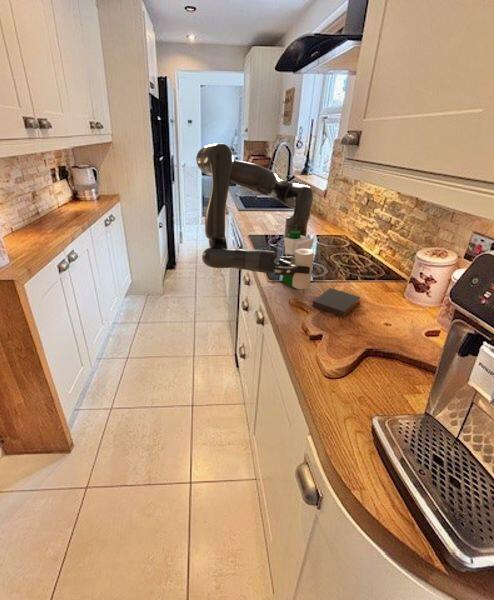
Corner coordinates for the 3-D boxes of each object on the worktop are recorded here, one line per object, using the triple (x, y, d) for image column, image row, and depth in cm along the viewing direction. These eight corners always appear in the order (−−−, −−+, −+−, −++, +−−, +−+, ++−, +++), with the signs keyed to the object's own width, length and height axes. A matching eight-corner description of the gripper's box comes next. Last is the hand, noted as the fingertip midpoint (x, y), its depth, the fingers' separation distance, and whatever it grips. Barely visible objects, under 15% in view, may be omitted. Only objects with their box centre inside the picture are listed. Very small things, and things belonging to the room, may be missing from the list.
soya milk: (293, 276, 132) (298, 228, 123) (311, 284, 126) (317, 233, 116) (278, 282, 128) (281, 232, 118) (295, 290, 121) (300, 238, 112)
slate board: (329, 292, 119) (330, 287, 118) (359, 302, 113) (360, 296, 112) (312, 306, 111) (312, 300, 110) (343, 317, 104) (344, 311, 103)
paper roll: (297, 280, 113) (301, 246, 107) (313, 284, 109) (317, 250, 103) (288, 285, 109) (291, 251, 103) (304, 290, 105) (308, 255, 100)
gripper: (254, 258, 102) (309, 264, 97) (265, 243, 114) (314, 248, 109) (254, 279, 106) (306, 286, 101) (264, 263, 118) (312, 269, 113)
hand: (310, 266), depth 105 cm, fingers closed on paper roll, 5 cm apart
